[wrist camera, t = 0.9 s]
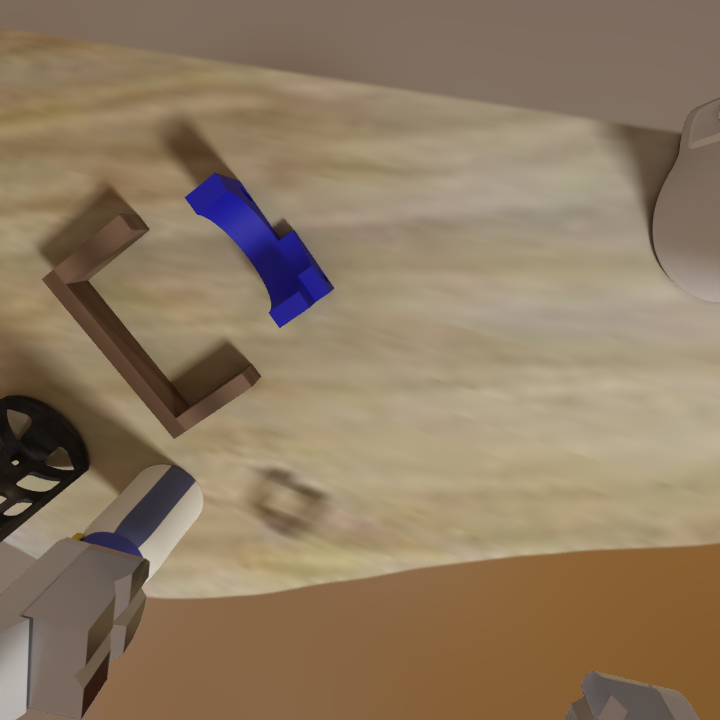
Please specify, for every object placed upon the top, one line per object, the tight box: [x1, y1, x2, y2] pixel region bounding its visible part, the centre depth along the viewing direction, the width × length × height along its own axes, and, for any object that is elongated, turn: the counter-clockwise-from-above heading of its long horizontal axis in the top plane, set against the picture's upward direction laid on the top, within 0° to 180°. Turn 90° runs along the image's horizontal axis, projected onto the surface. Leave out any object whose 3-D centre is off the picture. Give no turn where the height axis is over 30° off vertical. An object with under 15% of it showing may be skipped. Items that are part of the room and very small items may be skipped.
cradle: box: [42, 214, 261, 439], centre depth 42 cm, size 10×18×3 cm, turn 35°
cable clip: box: [185, 173, 334, 328], centre depth 38 cm, size 12×4×6 cm, turn 34°
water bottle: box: [72, 464, 203, 582], centre depth 36 cm, size 8×9×25 cm
